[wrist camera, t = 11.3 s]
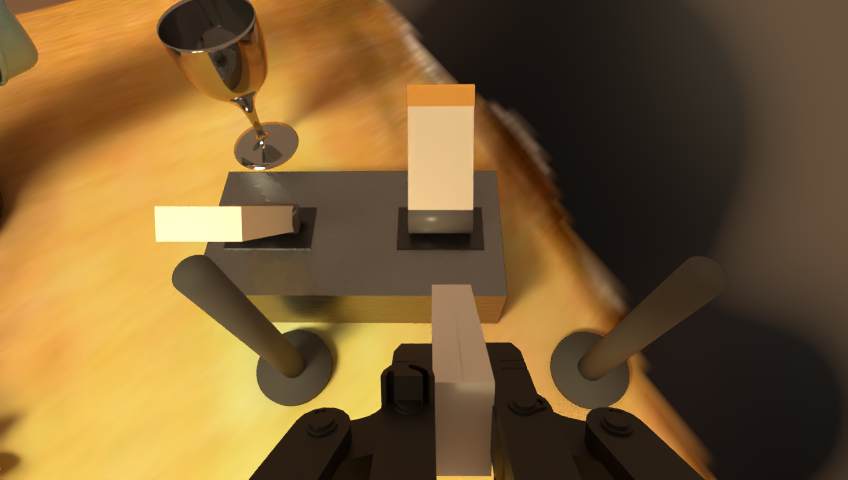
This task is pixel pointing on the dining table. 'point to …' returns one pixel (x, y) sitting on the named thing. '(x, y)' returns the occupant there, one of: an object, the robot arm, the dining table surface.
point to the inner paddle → (226, 222)
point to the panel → (360, 250)
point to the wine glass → (228, 69)
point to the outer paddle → (440, 158)
